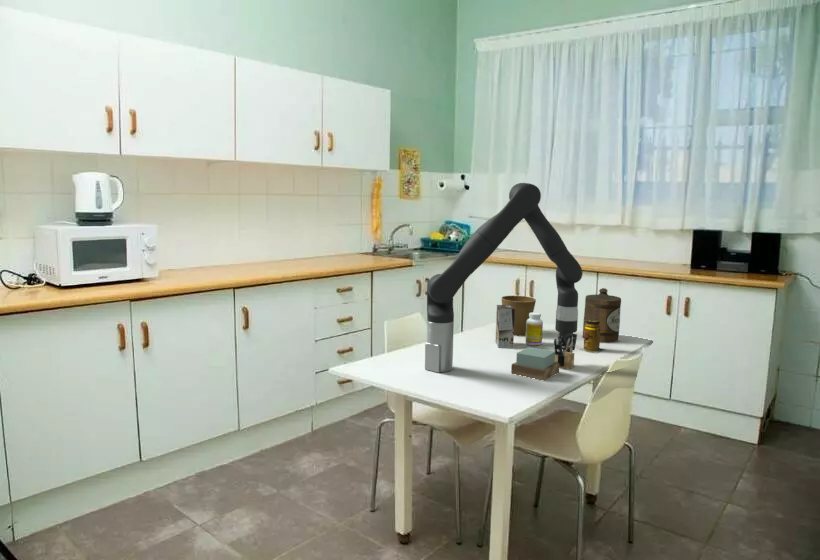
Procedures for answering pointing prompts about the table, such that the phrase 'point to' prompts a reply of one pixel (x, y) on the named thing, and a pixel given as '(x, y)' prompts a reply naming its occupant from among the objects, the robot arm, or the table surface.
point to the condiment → (592, 336)
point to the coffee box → (505, 326)
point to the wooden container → (604, 314)
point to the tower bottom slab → (535, 371)
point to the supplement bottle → (534, 329)
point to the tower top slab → (535, 358)
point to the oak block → (567, 360)
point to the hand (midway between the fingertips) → (564, 364)
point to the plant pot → (520, 311)
